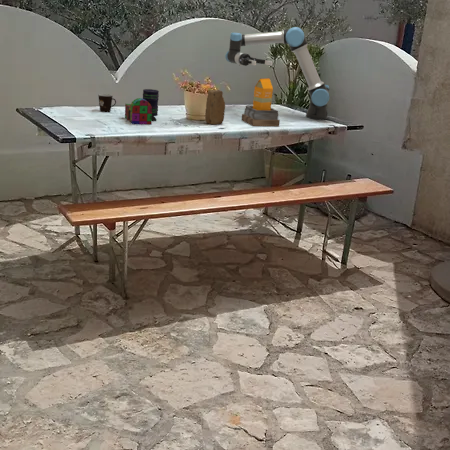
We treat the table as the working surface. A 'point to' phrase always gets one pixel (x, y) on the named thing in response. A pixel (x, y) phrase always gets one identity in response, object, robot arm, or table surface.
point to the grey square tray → (260, 117)
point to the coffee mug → (105, 102)
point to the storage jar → (152, 99)
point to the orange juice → (263, 95)
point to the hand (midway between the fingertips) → (263, 63)
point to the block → (215, 107)
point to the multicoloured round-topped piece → (139, 112)
